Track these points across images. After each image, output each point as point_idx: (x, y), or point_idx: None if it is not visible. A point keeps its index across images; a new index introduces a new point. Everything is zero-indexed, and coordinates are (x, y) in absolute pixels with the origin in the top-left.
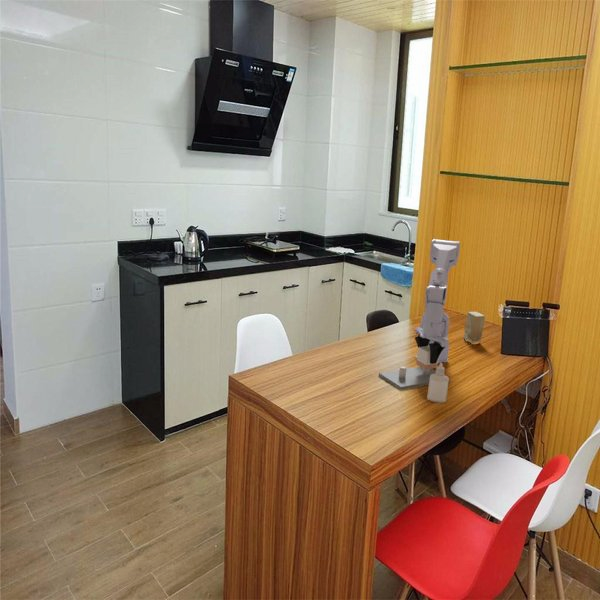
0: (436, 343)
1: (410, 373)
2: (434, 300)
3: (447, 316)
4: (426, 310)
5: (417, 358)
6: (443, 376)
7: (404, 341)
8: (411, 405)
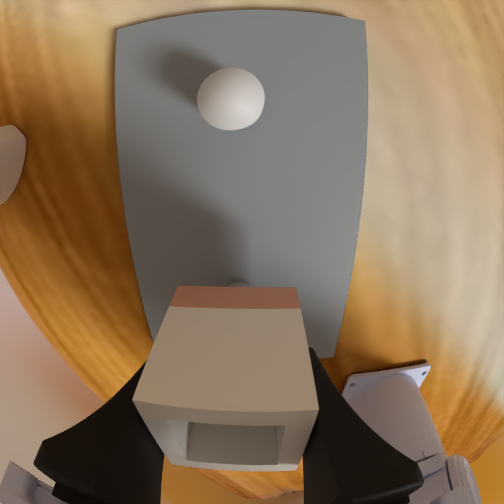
0: (79, 501)
1: (282, 212)
2: None
3: None
4: None
5: (292, 319)
6: None
7: (497, 378)
8: (9, 39)
